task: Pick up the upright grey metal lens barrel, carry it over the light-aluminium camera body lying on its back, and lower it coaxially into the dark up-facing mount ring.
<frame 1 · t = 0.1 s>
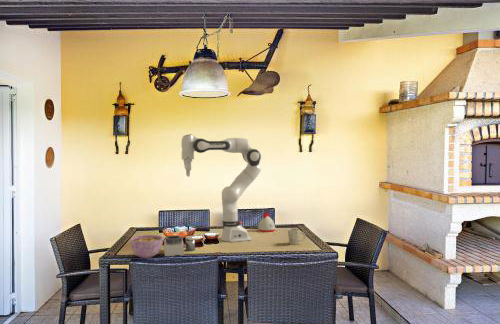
hand: (188, 176, 305), 48 cm above the table, fingers open, 8 cm apart
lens: (190, 249, 282), on the table
mug: (296, 243, 299), on the table
bowl of food: (146, 256, 266), on the table
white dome: (266, 230, 345), on the table
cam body: (173, 252, 276), on the table
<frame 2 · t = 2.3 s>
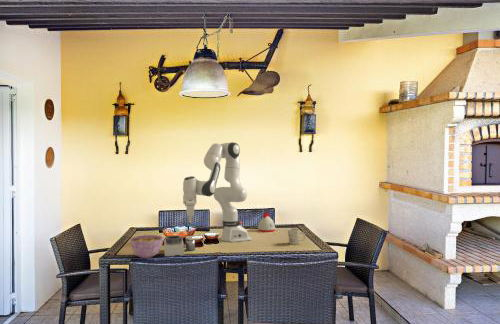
hand: (189, 221, 281), 19 cm above the table, fingers open, 8 cm apart
nothing on the table moved.
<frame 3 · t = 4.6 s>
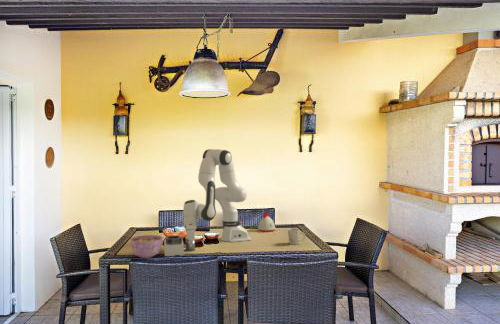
hand: (190, 245, 282), 3 cm above the table, fingers closed on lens, 6 cm apart
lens: (190, 249, 282), on the table, touching gripper
everything else where it was.
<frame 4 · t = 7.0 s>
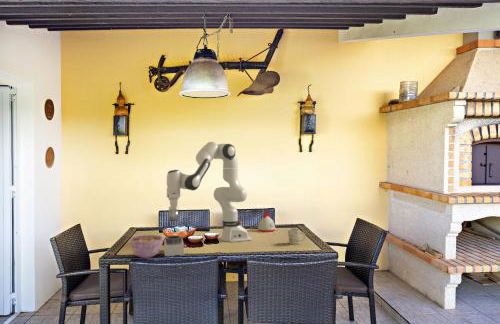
hand: (173, 215, 277), 24 cm above the table, fingers closed on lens, 6 cm apart
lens: (173, 220, 277), point 21 cm above the table, touching gripper
everything else where it was.
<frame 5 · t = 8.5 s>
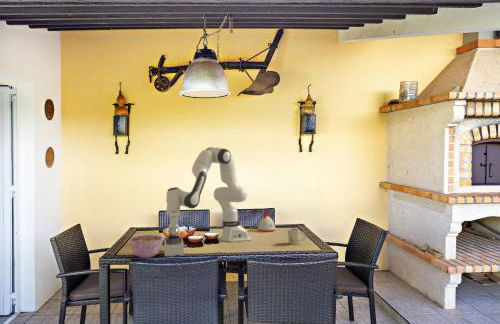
hand: (173, 233, 278), 12 cm above the table, fingers closed on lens, 6 cm apart
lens: (173, 238, 278), point 9 cm above the table, touching gripper
everything else where it was.
when the fingers open (11 cm above the table, at t = 9.6 s): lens stays where it is, resting on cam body.
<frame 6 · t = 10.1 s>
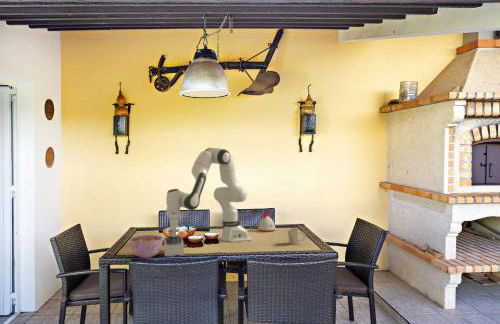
hand: (173, 234, 278), 11 cm above the table, fingers open, 8 cm apart
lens: (173, 241, 278), point 7 cm above the table, touching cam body
everything else where it was.
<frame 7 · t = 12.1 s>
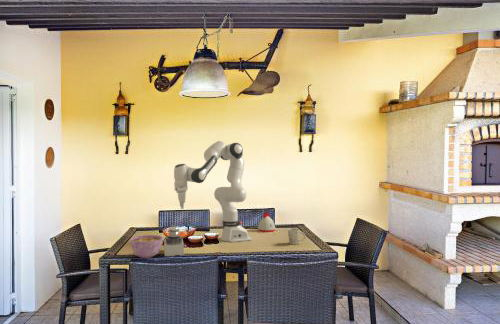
hand: (181, 207, 291), 27 cm above the table, fingers open, 8 cm apart
nothing on the table moved.
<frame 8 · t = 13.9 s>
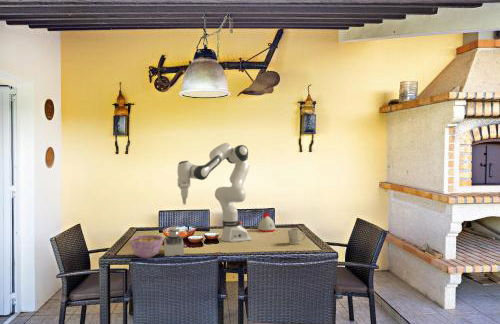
hand: (184, 203, 297), 29 cm above the table, fingers open, 8 cm apart
nothing on the table moved.
at the end: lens 0.1 cm from the target spot on the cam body, point 7.1 cm above the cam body's base; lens tilted 1°; the gripper is holding nothing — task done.
